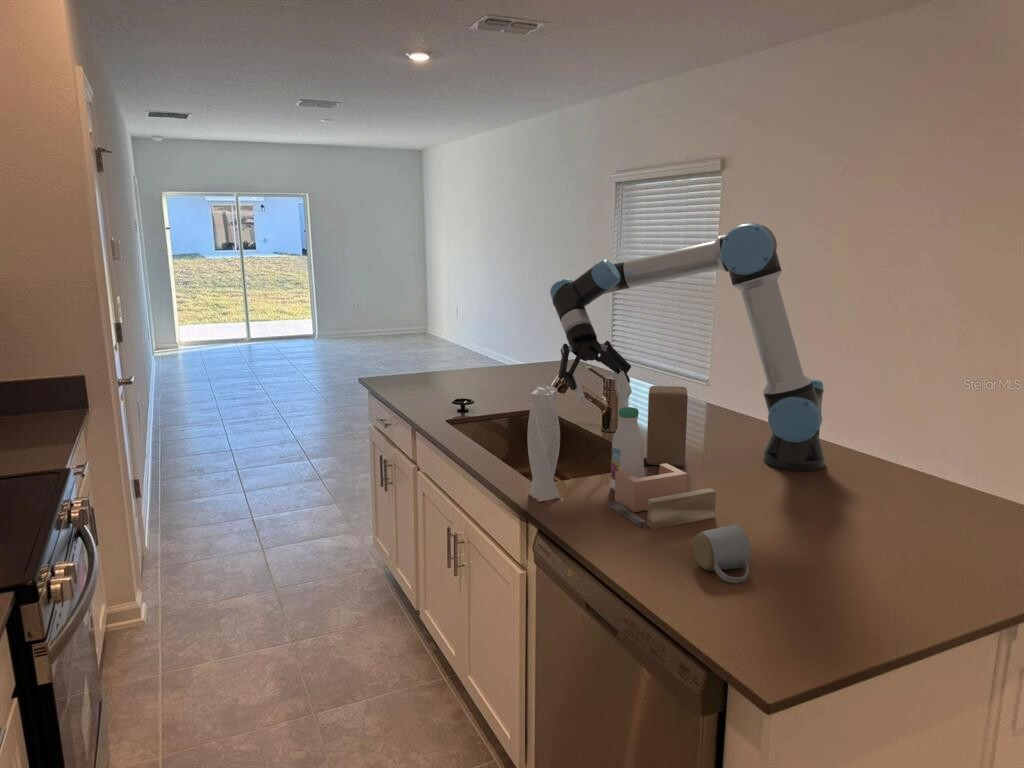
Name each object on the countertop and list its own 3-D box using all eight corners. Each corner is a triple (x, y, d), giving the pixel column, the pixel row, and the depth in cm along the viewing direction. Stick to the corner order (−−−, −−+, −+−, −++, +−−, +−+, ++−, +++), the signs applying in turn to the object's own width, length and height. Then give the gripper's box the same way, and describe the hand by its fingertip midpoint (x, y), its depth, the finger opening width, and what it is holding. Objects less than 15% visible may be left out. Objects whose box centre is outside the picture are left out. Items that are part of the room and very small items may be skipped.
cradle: (614, 500, 161) (615, 471, 159) (665, 491, 166) (666, 463, 164) (633, 512, 153) (634, 482, 152) (686, 502, 159) (687, 473, 157)
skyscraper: (536, 505, 159) (535, 386, 153) (520, 495, 165) (519, 380, 159) (565, 499, 162) (566, 382, 157) (549, 489, 169) (549, 376, 163)
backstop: (609, 505, 158) (609, 481, 157) (679, 493, 165) (680, 469, 164) (646, 530, 144) (646, 503, 143) (720, 515, 152) (722, 489, 150)
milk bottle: (645, 484, 171) (647, 406, 167) (640, 495, 164) (642, 413, 160) (614, 481, 174) (615, 404, 169) (608, 492, 166) (609, 411, 162)
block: (684, 467, 183) (687, 394, 179) (646, 465, 185) (648, 392, 181) (684, 456, 193) (687, 386, 188) (647, 454, 195) (649, 384, 191)
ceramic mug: (689, 560, 131) (691, 523, 129) (728, 555, 133) (731, 518, 131) (719, 588, 121) (721, 548, 119) (760, 582, 123) (763, 542, 121)
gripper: (614, 336, 193) (641, 400, 182) (532, 341, 183) (556, 409, 173) (624, 319, 187) (653, 384, 176) (540, 324, 177) (566, 393, 167)
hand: (605, 397), depth 175 cm, fingers open, 13 cm apart
